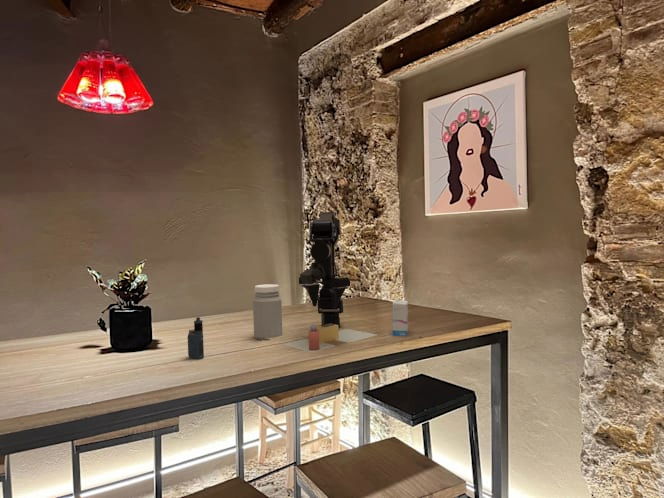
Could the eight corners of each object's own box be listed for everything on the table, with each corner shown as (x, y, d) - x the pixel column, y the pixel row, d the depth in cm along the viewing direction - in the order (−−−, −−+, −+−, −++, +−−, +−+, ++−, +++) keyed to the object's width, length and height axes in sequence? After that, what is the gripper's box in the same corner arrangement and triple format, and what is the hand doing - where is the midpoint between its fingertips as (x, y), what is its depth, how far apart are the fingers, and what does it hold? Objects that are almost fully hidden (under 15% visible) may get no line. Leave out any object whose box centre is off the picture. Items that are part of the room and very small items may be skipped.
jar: (288, 336, 166) (287, 284, 165) (266, 342, 159) (264, 288, 158) (270, 333, 172) (268, 283, 172) (248, 338, 165) (246, 286, 164)
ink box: (407, 339, 159) (406, 303, 158) (392, 338, 160) (391, 303, 159) (408, 333, 167) (408, 299, 167) (394, 333, 168) (393, 299, 168)
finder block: (312, 341, 154) (311, 326, 154) (330, 337, 160) (329, 322, 159) (320, 343, 151) (320, 328, 151) (338, 338, 157) (338, 324, 157)
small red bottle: (306, 349, 144) (306, 326, 144) (314, 347, 146) (314, 324, 146) (313, 351, 142) (313, 327, 142) (321, 348, 144) (321, 325, 144)
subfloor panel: (280, 347, 151) (280, 344, 151) (347, 331, 172) (347, 329, 172) (311, 355, 141) (311, 352, 141) (378, 337, 162) (378, 334, 161)
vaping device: (199, 360, 138) (197, 318, 138) (186, 357, 141) (185, 317, 141) (205, 357, 141) (204, 317, 140) (193, 355, 143) (192, 315, 143)
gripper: (285, 259, 155) (286, 307, 156) (325, 261, 142) (326, 314, 142) (311, 257, 163) (312, 303, 164) (351, 259, 150) (352, 309, 150)
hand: (324, 307), depth 155 cm, fingers open, 9 cm apart
